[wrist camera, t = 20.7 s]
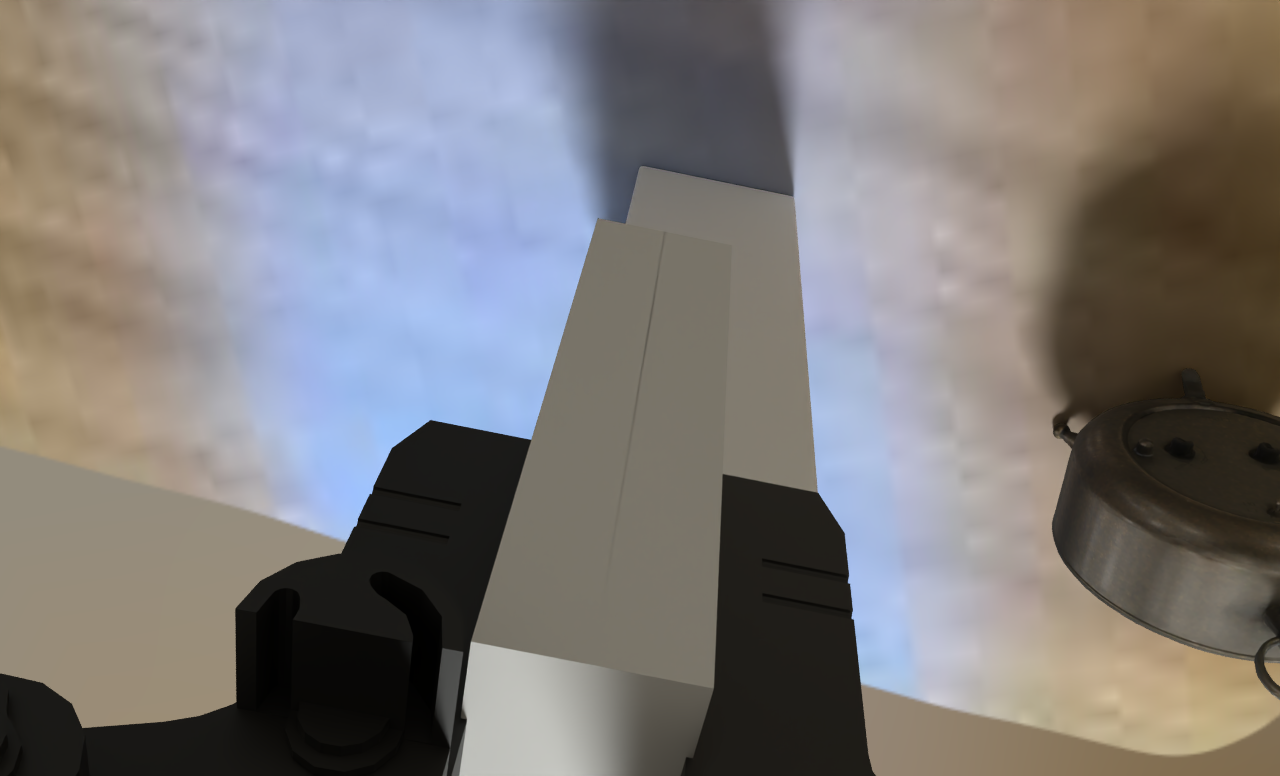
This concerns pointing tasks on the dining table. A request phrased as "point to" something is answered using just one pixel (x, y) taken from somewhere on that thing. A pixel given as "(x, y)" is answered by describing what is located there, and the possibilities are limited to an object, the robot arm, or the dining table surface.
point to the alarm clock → (1179, 521)
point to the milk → (749, 317)
